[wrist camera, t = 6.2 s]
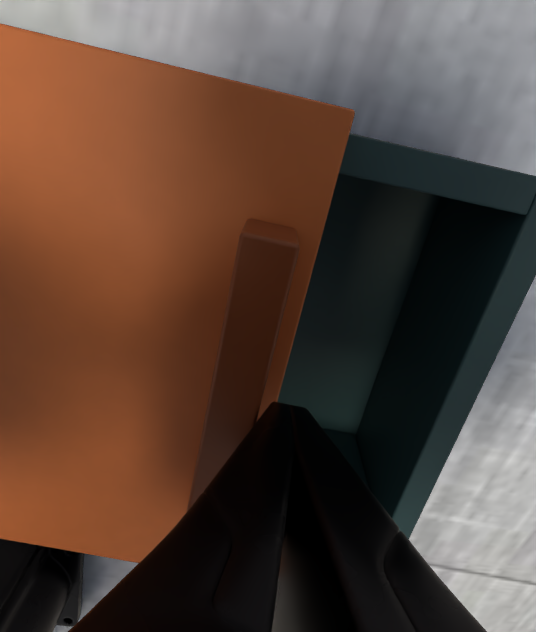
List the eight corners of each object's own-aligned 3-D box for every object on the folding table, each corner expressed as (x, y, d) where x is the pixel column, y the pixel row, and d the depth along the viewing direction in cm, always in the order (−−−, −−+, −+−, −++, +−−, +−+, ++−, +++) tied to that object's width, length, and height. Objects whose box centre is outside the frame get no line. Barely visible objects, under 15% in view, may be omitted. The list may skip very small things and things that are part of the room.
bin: (467, 171, 14) (579, 186, 9) (365, 442, 18) (399, 560, 13) (-99, 41, 13) (-356, -31, 8) (-62, 360, 17) (-210, 452, 12)
